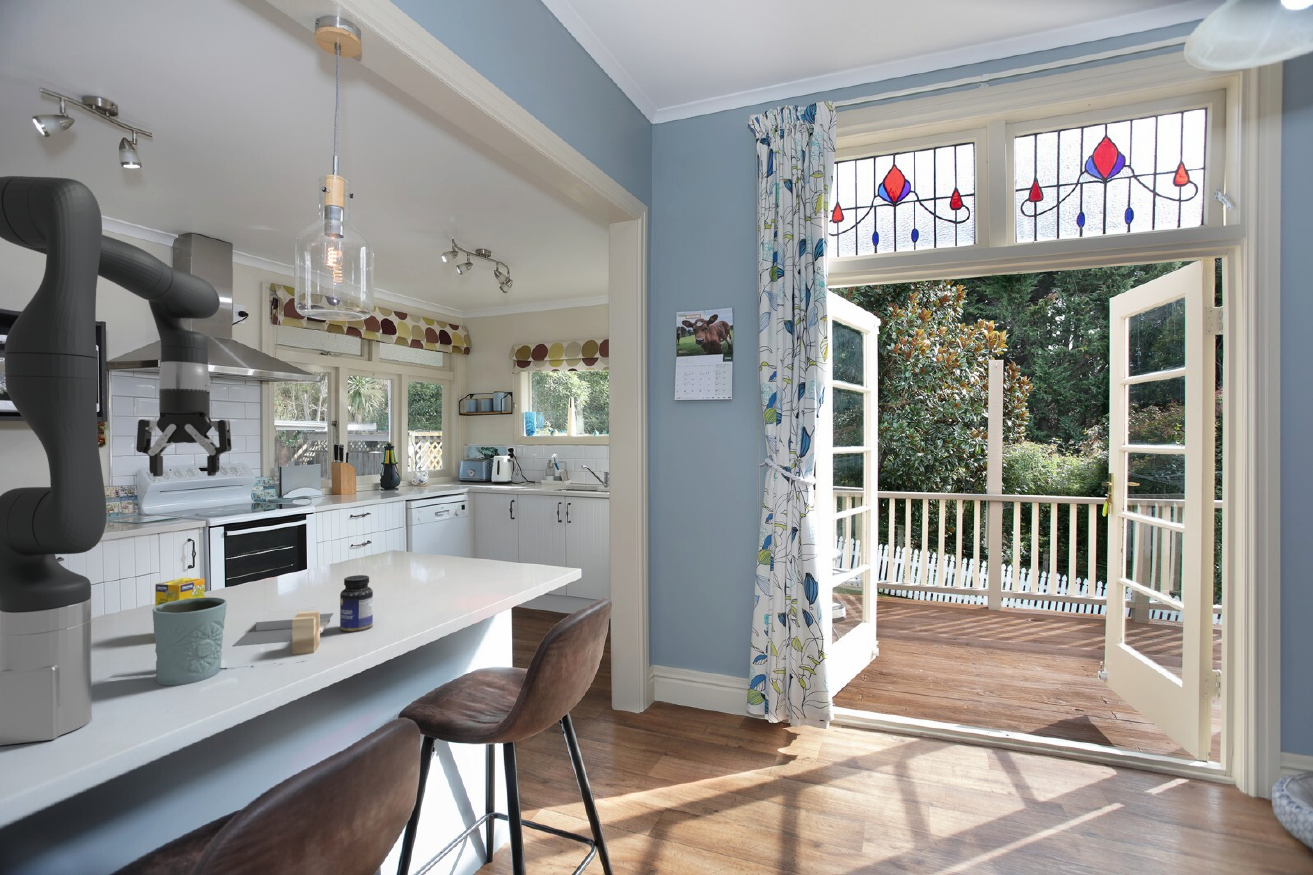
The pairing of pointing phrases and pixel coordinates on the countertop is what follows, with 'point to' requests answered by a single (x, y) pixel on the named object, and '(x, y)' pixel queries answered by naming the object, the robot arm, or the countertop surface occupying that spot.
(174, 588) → the supplement box
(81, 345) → the robot arm
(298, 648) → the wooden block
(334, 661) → the countertop surface
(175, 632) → the green embossed planter
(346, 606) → the pill bottle
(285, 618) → the tile
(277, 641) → the mat
